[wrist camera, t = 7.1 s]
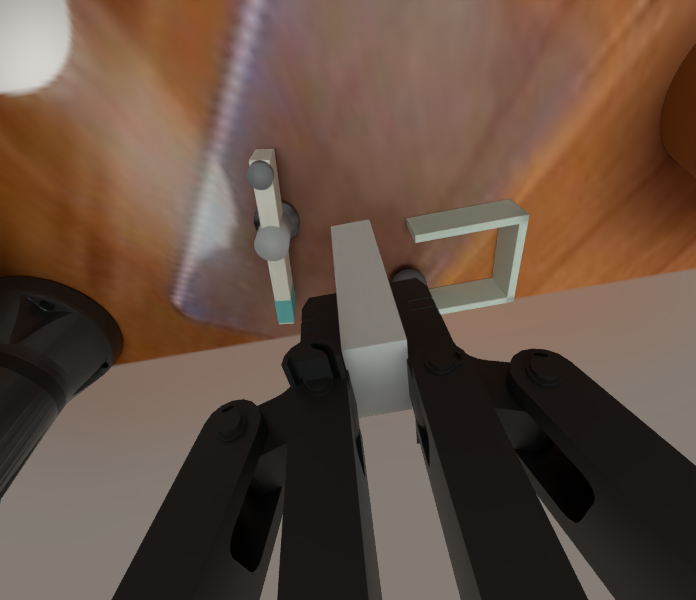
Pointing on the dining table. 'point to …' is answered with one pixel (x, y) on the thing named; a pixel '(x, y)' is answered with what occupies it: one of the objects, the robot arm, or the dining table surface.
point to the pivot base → (287, 210)
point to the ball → (409, 275)
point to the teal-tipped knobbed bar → (273, 231)
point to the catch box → (507, 251)
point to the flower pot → (681, 115)
